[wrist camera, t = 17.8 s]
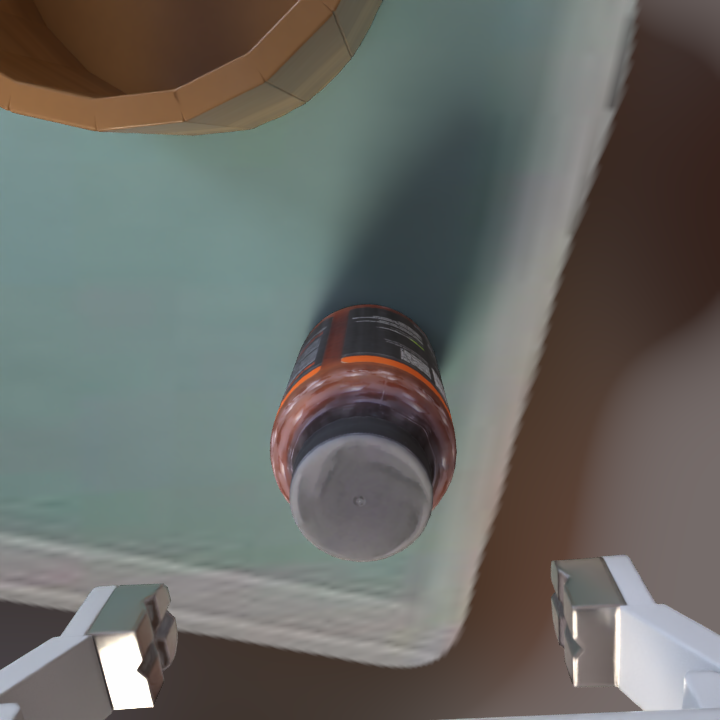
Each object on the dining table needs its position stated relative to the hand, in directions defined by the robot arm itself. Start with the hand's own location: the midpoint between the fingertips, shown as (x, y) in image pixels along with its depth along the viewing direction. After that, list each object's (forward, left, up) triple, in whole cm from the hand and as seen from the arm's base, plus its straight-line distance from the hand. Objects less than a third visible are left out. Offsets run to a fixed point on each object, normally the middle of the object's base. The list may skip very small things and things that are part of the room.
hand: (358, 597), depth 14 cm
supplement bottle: (0, 0, -16) cm, 16 cm away
